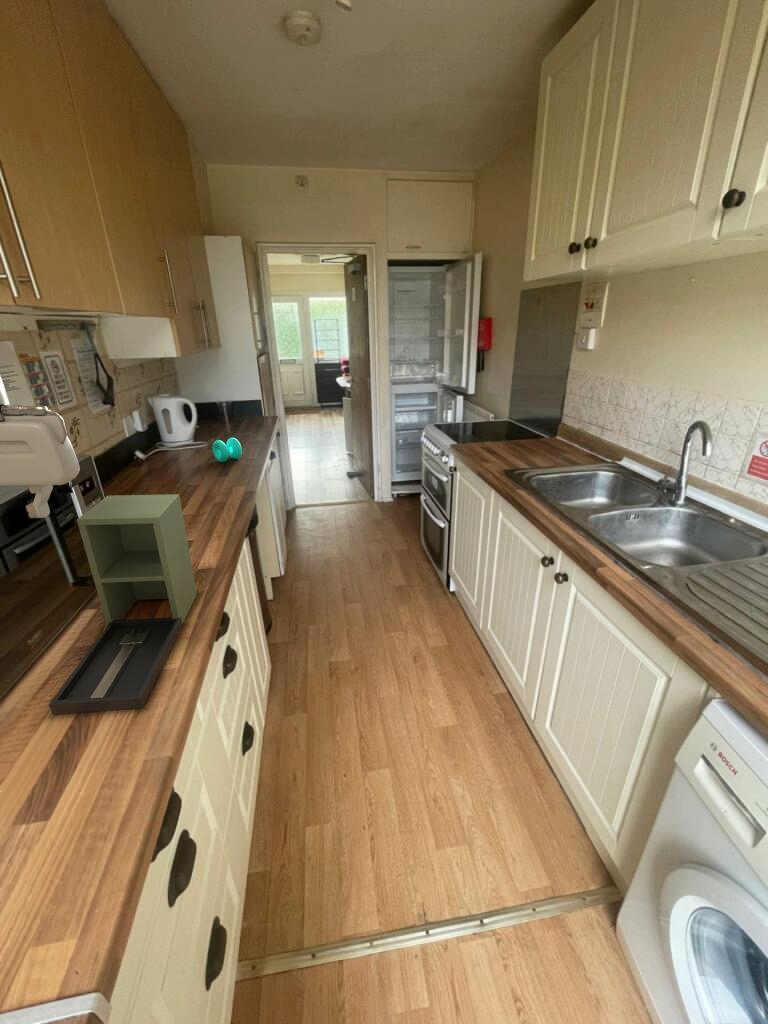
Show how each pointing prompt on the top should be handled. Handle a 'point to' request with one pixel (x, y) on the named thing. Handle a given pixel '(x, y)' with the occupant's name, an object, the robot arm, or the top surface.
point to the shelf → (138, 553)
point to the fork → (121, 661)
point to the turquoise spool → (227, 449)
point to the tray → (133, 679)
